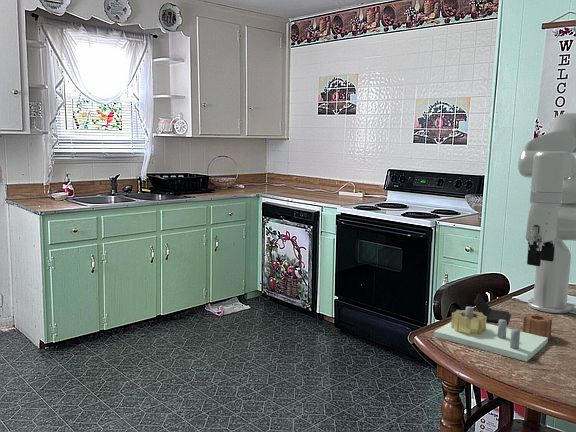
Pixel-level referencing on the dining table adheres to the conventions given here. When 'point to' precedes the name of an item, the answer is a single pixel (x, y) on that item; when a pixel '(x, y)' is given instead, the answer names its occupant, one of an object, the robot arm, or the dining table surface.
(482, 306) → the dark grey angled bracket
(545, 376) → the dining table surface
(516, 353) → the gear board
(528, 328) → the rust gear
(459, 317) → the brass gear
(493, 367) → the dining table surface
